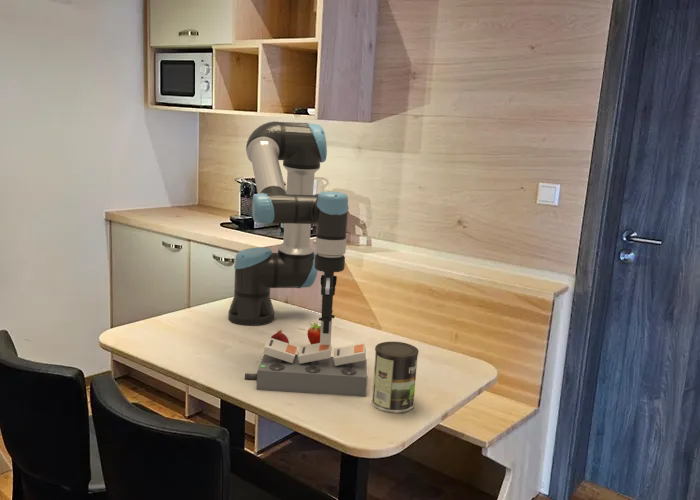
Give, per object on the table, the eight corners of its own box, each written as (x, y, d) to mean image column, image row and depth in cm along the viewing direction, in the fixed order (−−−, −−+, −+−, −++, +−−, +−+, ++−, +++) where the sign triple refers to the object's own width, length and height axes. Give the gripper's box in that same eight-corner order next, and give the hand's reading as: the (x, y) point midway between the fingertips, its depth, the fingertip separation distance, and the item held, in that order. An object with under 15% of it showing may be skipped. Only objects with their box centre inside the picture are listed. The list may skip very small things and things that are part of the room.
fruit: (323, 344, 190) (324, 319, 188) (326, 350, 185) (328, 324, 183) (305, 344, 189) (306, 319, 187) (308, 351, 184) (309, 325, 182)
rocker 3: (336, 355, 167) (334, 348, 167) (365, 350, 167) (364, 342, 166) (335, 365, 160) (333, 358, 160) (365, 360, 160) (364, 352, 159)
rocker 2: (302, 353, 167) (300, 346, 167) (331, 348, 167) (329, 340, 166) (299, 363, 160) (297, 355, 160) (330, 357, 160) (328, 350, 159)
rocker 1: (266, 343, 167) (268, 336, 166) (295, 353, 167) (297, 345, 167) (262, 353, 160) (264, 346, 159) (292, 363, 160) (295, 355, 160)
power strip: (249, 369, 168) (249, 348, 167) (365, 376, 168) (366, 355, 167) (240, 388, 157) (241, 365, 155) (365, 396, 156) (367, 373, 155)
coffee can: (417, 398, 157) (421, 344, 154) (409, 416, 147) (414, 359, 144) (376, 391, 160) (380, 338, 157) (366, 408, 150) (370, 352, 147)
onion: (285, 362, 175) (286, 334, 173) (265, 359, 176) (266, 332, 174) (291, 354, 180) (292, 328, 179) (271, 352, 181) (272, 325, 180)
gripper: (316, 248, 164) (312, 334, 169) (313, 258, 151) (308, 352, 156) (345, 249, 164) (340, 336, 169) (344, 260, 151) (339, 353, 156)
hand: (325, 343), depth 163 cm, fingers closed
